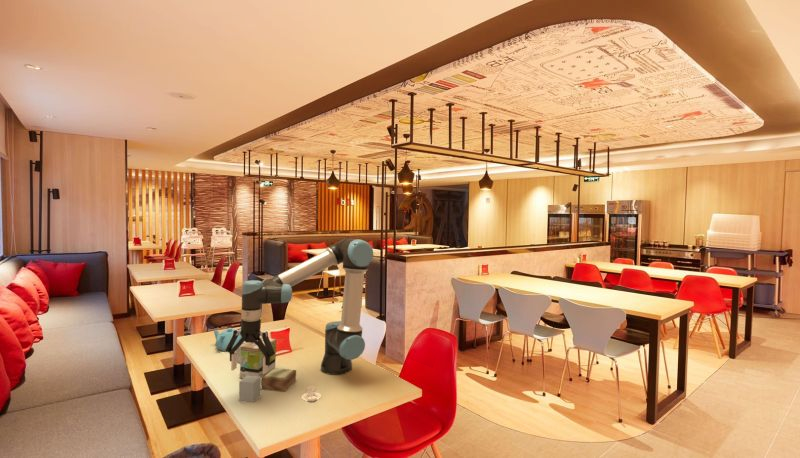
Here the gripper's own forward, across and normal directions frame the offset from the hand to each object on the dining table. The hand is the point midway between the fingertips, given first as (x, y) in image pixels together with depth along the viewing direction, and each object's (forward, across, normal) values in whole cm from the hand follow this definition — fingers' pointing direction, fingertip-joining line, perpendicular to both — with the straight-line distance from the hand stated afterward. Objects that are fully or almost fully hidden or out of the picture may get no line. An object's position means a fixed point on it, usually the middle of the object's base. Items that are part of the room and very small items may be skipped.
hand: (249, 371), depth 163 cm
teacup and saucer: (+12, +22, +4) cm, 26 cm away
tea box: (+11, -9, +24) cm, 28 cm away
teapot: (+12, -41, +53) cm, 68 cm away
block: (+11, 0, 0) cm, 11 cm away
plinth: (+11, +6, +14) cm, 19 cm away
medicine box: (+12, -23, +37) cm, 45 cm away
